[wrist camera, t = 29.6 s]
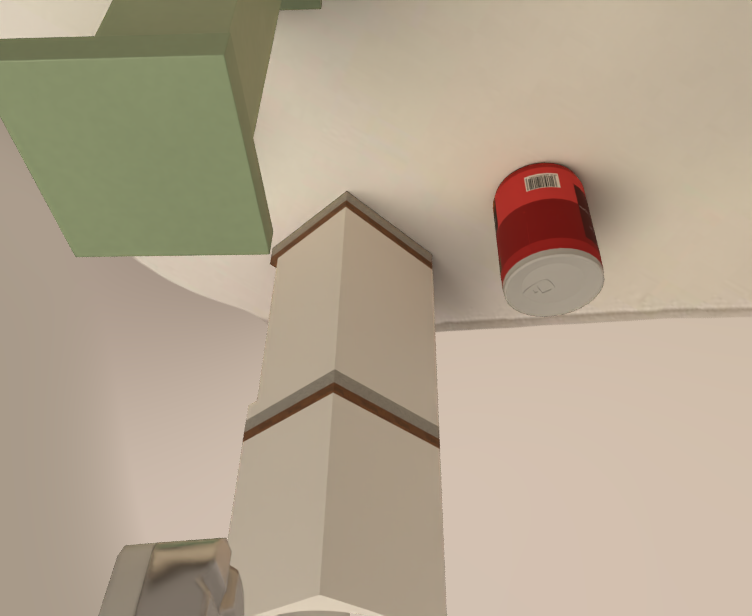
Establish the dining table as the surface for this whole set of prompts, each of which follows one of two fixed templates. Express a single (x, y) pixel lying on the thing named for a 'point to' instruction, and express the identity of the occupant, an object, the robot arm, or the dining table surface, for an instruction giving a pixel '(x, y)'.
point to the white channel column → (344, 429)
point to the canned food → (546, 241)
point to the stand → (149, 126)
